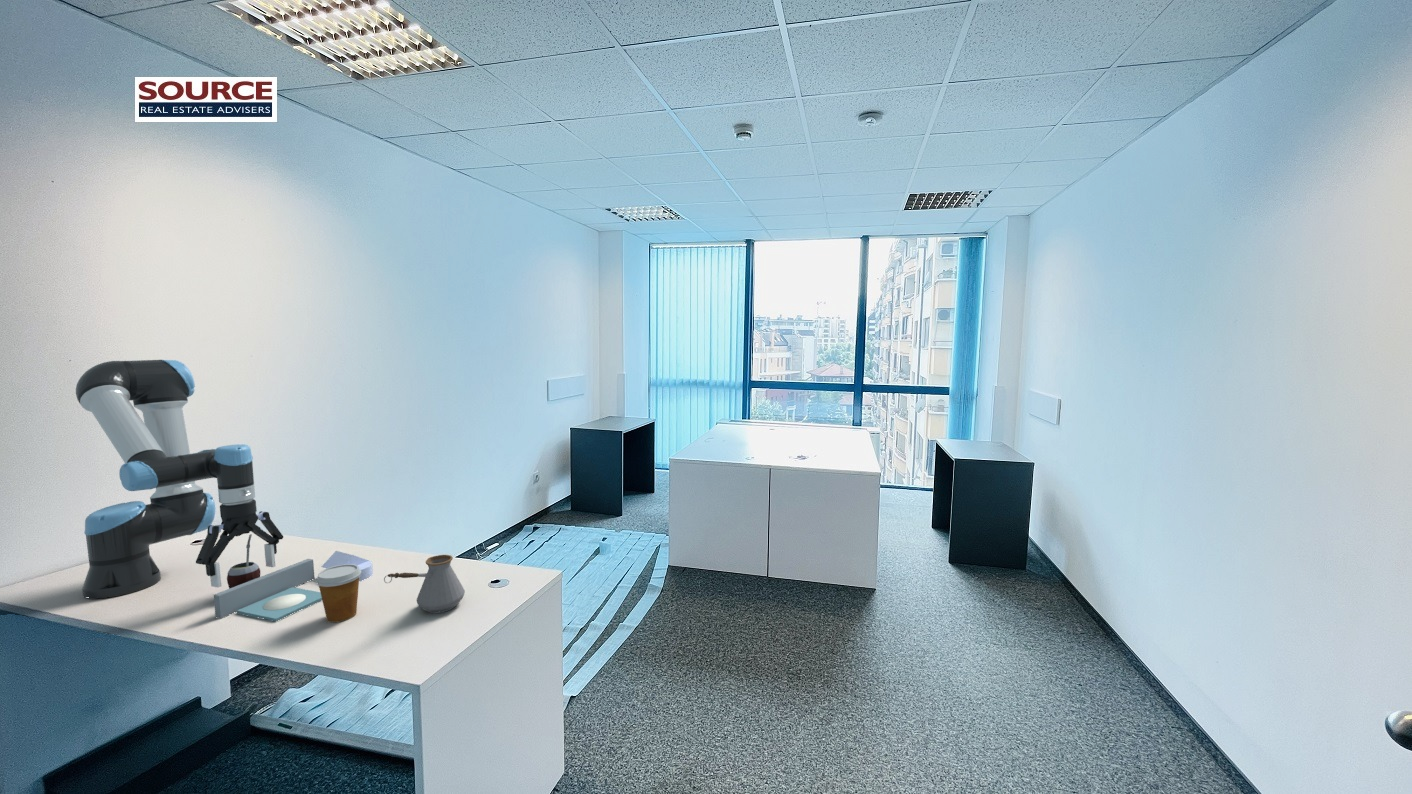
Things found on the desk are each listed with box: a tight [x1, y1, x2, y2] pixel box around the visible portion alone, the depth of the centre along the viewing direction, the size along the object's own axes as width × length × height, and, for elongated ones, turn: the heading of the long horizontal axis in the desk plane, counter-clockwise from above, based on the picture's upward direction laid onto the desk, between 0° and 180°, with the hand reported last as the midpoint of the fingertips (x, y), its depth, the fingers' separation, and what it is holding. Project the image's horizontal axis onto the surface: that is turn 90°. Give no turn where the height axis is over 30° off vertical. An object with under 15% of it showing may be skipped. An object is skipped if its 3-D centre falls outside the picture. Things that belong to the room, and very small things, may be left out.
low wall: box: [212, 558, 316, 619], centre depth 147 cm, size 2×24×6 cm, turn 163°
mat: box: [236, 587, 322, 622], centre depth 143 cm, size 14×14×1 cm
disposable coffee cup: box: [315, 564, 361, 623], centre depth 137 cm, size 10×10×12 cm
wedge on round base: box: [320, 550, 374, 582], centre depth 161 cm, size 9×7×13 cm
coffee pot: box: [383, 554, 466, 614], centre depth 137 cm, size 21×12×15 cm, turn 161°
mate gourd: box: [226, 533, 261, 589], centre depth 149 cm, size 8×8×15 cm
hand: (244, 576), depth 150 cm, fingers open, 13 cm apart
